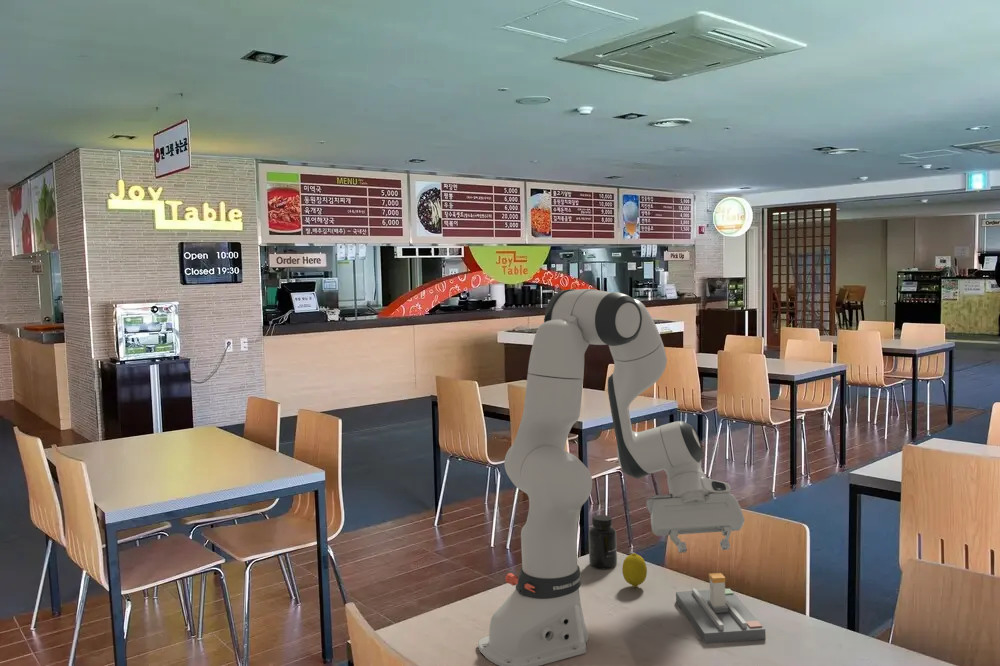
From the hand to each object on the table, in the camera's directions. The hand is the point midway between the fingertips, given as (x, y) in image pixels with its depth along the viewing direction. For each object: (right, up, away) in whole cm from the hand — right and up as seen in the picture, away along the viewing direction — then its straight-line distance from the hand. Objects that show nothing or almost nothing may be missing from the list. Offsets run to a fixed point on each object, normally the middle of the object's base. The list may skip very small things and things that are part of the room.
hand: (704, 550), depth 170 cm
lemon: (-13, -12, +11) cm, 21 cm away
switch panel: (+1, -12, -7) cm, 14 cm away
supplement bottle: (-18, -11, +26) cm, 34 cm away
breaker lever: (+1, -10, -7) cm, 12 cm away
